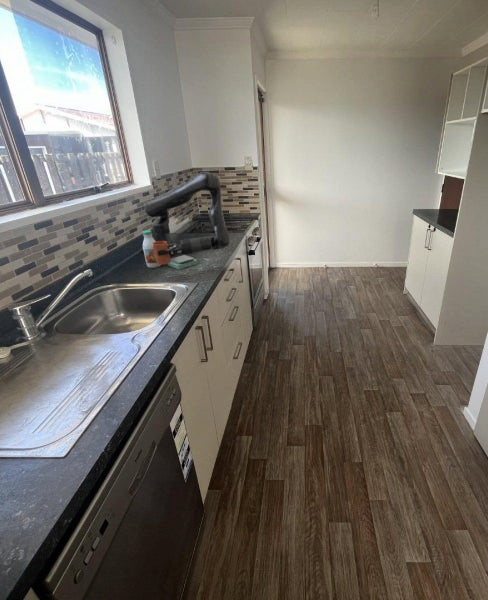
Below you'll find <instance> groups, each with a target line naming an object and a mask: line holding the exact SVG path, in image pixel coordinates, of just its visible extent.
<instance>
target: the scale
mask: <svg viewBox="0 0 488 600" xmlns="http://www.w3.org/2000/svg"><path fill="white" fill-rule="evenodd" d="M198 264H199V263H198V259H196V258H194V259H193V260H190V261H186V262H183V263H180V264H179V263H176V262H173V261H171V262H170V263H168V264H166V266H168V267H171V268H174V269H176V270H182V269H186V268H189V267H193V266H195V265H198Z"/></svg>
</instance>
